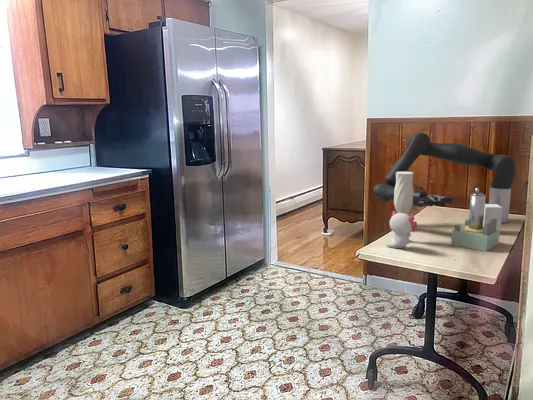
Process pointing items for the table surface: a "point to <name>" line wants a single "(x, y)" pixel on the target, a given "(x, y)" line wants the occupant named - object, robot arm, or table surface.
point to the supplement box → (493, 214)
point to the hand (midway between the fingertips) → (448, 202)
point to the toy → (401, 229)
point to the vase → (403, 192)
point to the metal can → (476, 210)
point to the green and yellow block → (476, 236)
